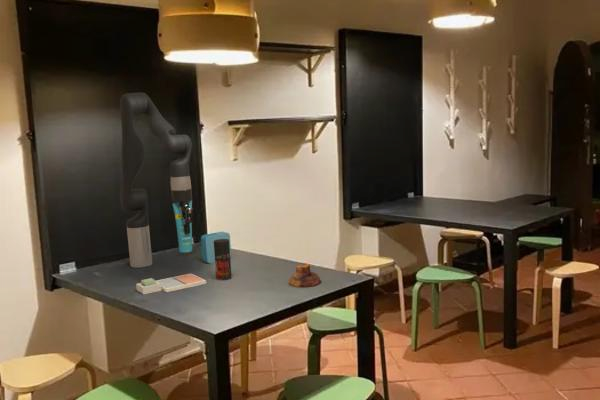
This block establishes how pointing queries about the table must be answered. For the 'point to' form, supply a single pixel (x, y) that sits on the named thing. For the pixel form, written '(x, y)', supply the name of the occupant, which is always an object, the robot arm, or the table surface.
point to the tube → (182, 230)
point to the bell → (304, 277)
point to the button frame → (148, 288)
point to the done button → (148, 282)
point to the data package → (212, 245)
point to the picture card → (180, 282)
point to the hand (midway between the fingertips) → (184, 232)
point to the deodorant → (222, 259)
